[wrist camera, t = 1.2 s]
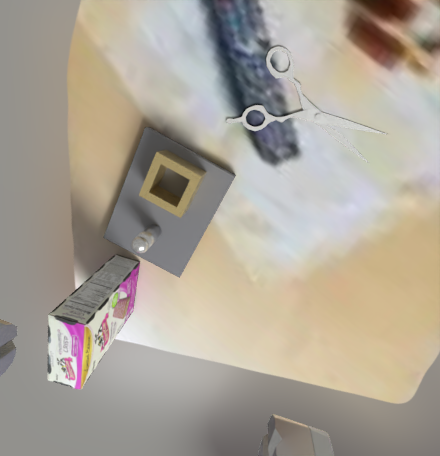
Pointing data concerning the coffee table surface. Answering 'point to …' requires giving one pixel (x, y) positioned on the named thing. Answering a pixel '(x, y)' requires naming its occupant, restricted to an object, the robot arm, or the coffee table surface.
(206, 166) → the slate mat
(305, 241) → the coffee table surface
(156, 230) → the steel post
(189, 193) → the brass collar
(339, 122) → the scissors
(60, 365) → the candy bar box
